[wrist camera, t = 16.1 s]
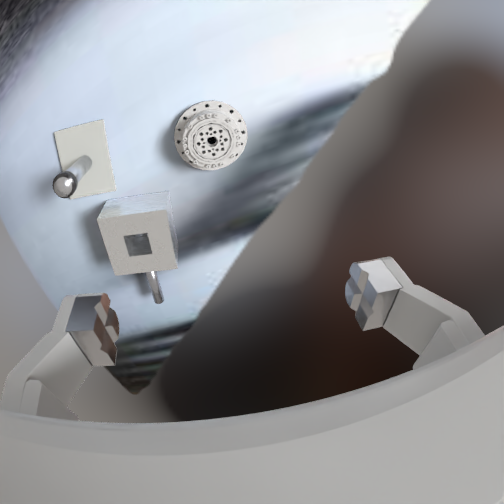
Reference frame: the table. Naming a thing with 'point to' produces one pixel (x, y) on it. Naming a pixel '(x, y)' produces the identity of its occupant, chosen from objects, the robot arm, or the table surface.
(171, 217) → the block
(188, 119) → the mechanical component
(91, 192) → the mat
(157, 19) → the table surface
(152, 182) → the table surface
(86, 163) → the grey capped cylinder
